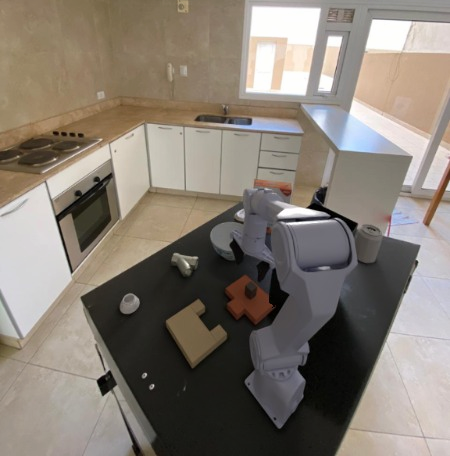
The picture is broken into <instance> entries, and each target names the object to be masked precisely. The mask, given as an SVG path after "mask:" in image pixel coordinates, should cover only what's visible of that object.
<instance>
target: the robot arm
mask: <svg viewBox="0 0 450 456" xmlns="http://www.w3.org/2000/svg"><path fill="white" fill-rule="evenodd" d="M242 205H243V211H244V215H243V216H244V217H243V225H244V226H243V233H242V232H239V231H237V230H236V229H235V230H233V231H231V232H230V238H231V239H233V240H232V242H231V243H230V244H229V246H230V248H231V249H232V251H233V254H234V257H235V260H234V261H235V264H236V265H237V266H239V265H240V264H241V263H243V262H244V259H245V258H244V257H245V255H244V253H246V255H247V256H250V257H252V258H254V259H257V260H260V262H259V263H257V264H256V266H255V267H256V270H257V277H256V278H257V279H256V281H257V282H258V283H259V284H261V282H263V281H264V279H265V278H266V276H267V274H268V272H269V270H270V269H271V270H274V269H275V270H276V278H277V280H278V283H279V288H280V290H281V291H283V292H285V293H287V294H288V295H289V296H288V297H287V298H286V300H285V302H284V303H283V305H282V307H281V309H280V310H279V311H278V313H277V314H276V316H275V318H274V320H273V321H272V323H271V324H270V325H268V326H265V327H262V328H260V329H256V330H255V329H254V330H252V331H251V333H250V334H249V351H250V357H251V361H252V365H253V368H254V369H253V371H252V372H251V373H250V374H249V375H248V376H247V377H246V378H245V379H244V385H245V386H246V388H247V389H248V390H249V392H250V393H251V395H253V397H254V398H255V399H256V401H257V403H258V404H259V405H260V406H261V408H262V409H263V410H264V411H265V413H266V414H267V415H268V417H269V418H270V419H271V421H272V422H273V424H274V425H275V426H276V428H277V429H282V427H283V426H284V425H285V423H286V422H287V421H288V420H289V418H290V416H291V415H292V414H293V413H294V412H295V411H296V410H297V408H298V406H299V404H300V403H301V401H302V400H303V399H304V390H305V386H306V383H307V382H306V379H305V378H304V377H303V376H302V374H301V372H300V371H299V370H298V368H299V366H302V367H303V366H305V365H306V364H307V360H308V354H309V353H310V345H309V342H308V341H310V339H312V338H313V337H314V335H316V334H317V333H318V331H320V330H321V329H322V327H324V326H325V324H327V323H328V322H329V321H330V320H331V319H332V318H333V317H334V315H335V314H336V311H337V307H338V303H339V301H340V297H341V293H342V289H343V286H344V282H345V280H346V279H347V278H348V276H349V275H350V274H351V273H352V272H353V271H354V270H355V268H357V266H358V264H359V263H358V259H357V254H356V248H355V236H354V234H353V232H352V230H351V229H350V227H349V225H347V223H346V222H345V221H344V220H342V219H341V218H339V217H332V218H330V217H331V215H330V214H328V213H327V212H324V211H319V210H315V209H310V208H306V207H301V206H298V205H294V204H292V203H290V204H287V203H284V201H283V199H282V198H281V197H280V196H279V195H277V194H275V193H273V190H272V189H268V188H258V189H253V188H245V189H243V192H242ZM267 222H273V229H272V232H271V234H270V246H271V250H270V249H269V247H268V246H267V245H266V244H265V241H266V236H267V233H266V229H267Z"/></svg>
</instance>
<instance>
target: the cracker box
mask: <svg viewBox="0 0 450 456" xmlns="http://www.w3.org/2000/svg"><path fill="white" fill-rule="evenodd" d="M258 188H268V189H272V190H273V193H275V194H277V195H279V196H280V197H281V198H282V199H283V201H284V203H287V204H291V198H292V192H293V188H292V183H291V182H285V181H277V180H276V181H275V180H267V179H258V178H253V188H252V189H258ZM272 229H273V222H267V229H266V235H271V232H272Z"/></svg>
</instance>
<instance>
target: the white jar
mask: <svg viewBox="0 0 450 456" xmlns="http://www.w3.org/2000/svg"><path fill="white" fill-rule="evenodd" d="M140 303H141V302H140V299H139V297H138V296H137V295H135V294H134V293H127V294H125V295H124V296H123V298H122V300H121V302H120V303H119V311H120V312H121V314H124V315H130V314H132V313H134V312H135V311H137V310H138V308H140Z"/></svg>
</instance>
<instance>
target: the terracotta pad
mask: <svg viewBox="0 0 450 456" xmlns="http://www.w3.org/2000/svg"><path fill="white" fill-rule="evenodd" d="M225 295H226V296H227V297H228V298H229V299H230V301H228V303H227V304H226V309H227V310H228V312H229V313H230V314H231V315H232V316H233V317H234V318H235V320H239V319H240V318H241V317H242V316H244V315H245V316H246V317H247V319H249V320H250V321H251V322H252V323H253V324H254V325H255V326H256V325H258V323H259V322H261V321H262V320H263V319H264V318H266V317H267V316H268V314H270V313H271V312H272V311H273V310H274V309H275V308H276V306H275V307H273V305H272V304H270V303H269V296H270V295H269V294H268V293H266V292H265V291H264V290H263V288H261V287H260V286H259V285H258V284H256V283H255V282H254V280H252V279H251V278H250V277H249V276H248V275H247V274H244V275H243V276H240V278H238V279H237V280H236V281H234V282H232V283H231V284H230V285H228V286H227V287H225ZM272 307H273V308H272Z"/></svg>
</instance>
